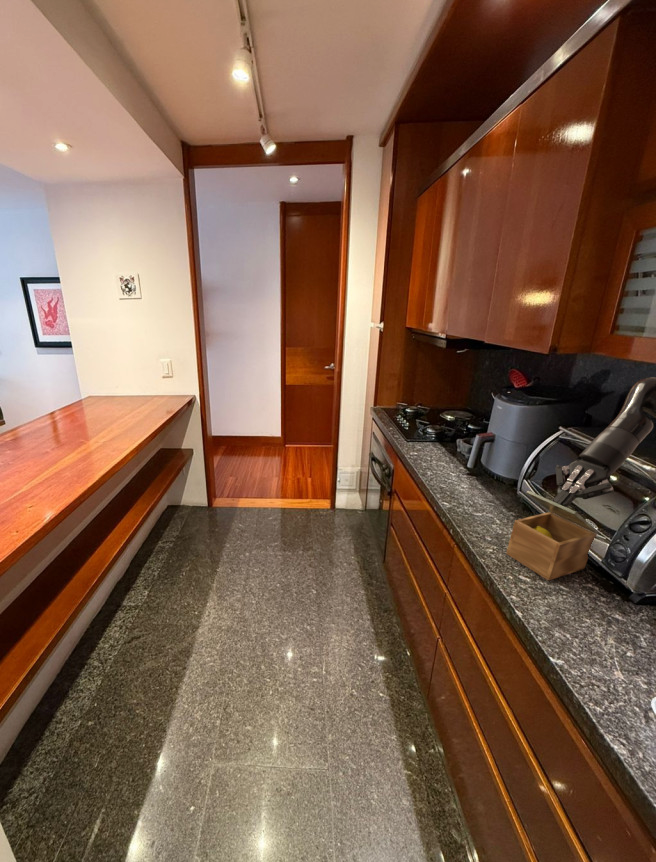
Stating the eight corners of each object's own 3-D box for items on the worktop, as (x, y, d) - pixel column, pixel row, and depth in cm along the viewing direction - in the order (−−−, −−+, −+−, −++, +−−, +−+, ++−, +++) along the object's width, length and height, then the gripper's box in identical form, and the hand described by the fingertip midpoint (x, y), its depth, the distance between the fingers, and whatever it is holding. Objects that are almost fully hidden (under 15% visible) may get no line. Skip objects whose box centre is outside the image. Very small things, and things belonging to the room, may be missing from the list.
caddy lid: (574, 514, 86) (576, 511, 85) (526, 492, 96) (527, 490, 96) (596, 533, 92) (598, 531, 92) (549, 511, 102) (551, 509, 102)
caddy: (548, 581, 92) (560, 544, 88) (505, 554, 102) (514, 520, 98) (584, 569, 96) (597, 534, 92) (539, 544, 106) (549, 511, 102)
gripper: (644, 469, 88) (591, 526, 88) (583, 451, 99) (536, 501, 100) (637, 451, 84) (582, 510, 85) (575, 433, 95) (526, 486, 96)
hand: (557, 505), depth 92 cm, fingers closed
